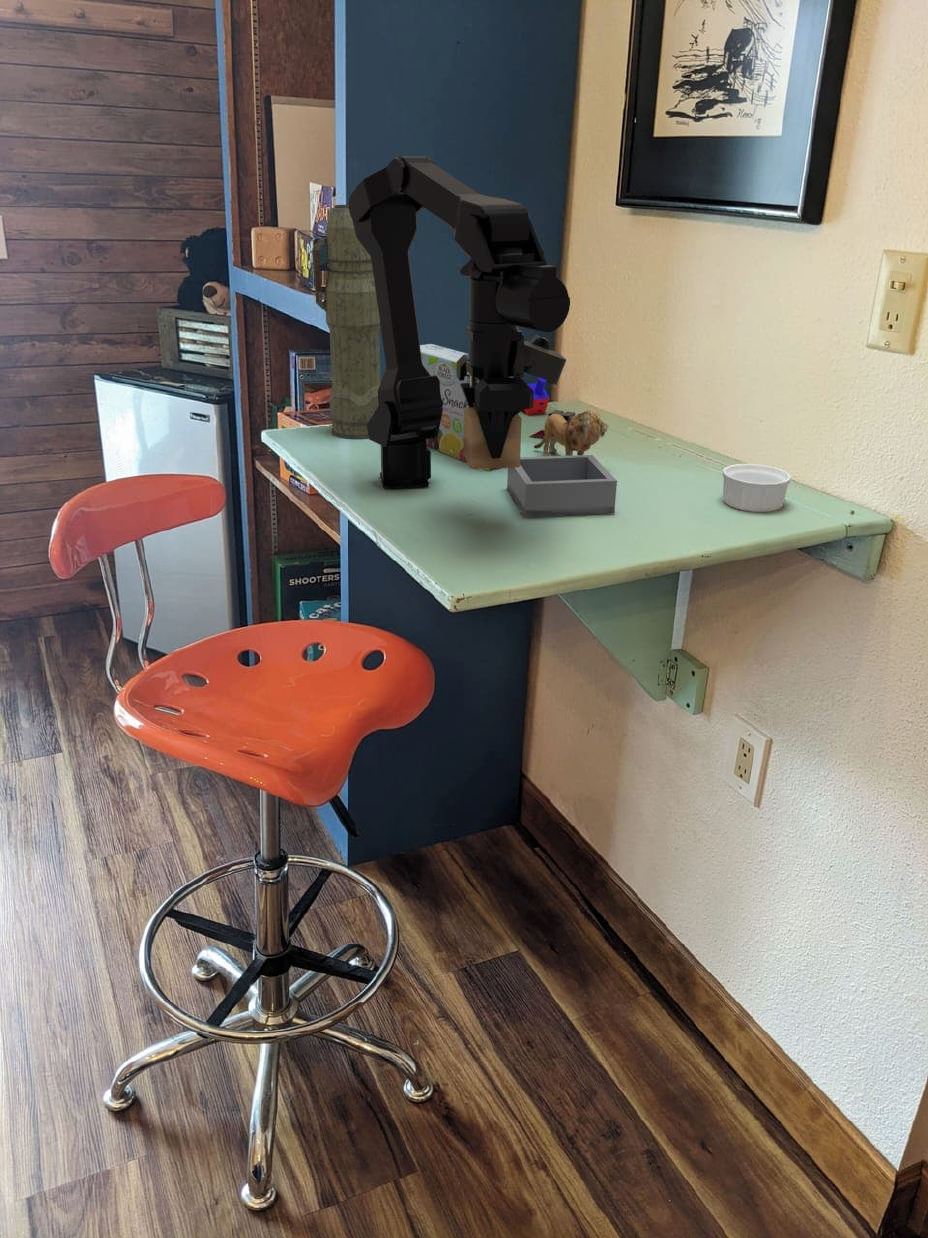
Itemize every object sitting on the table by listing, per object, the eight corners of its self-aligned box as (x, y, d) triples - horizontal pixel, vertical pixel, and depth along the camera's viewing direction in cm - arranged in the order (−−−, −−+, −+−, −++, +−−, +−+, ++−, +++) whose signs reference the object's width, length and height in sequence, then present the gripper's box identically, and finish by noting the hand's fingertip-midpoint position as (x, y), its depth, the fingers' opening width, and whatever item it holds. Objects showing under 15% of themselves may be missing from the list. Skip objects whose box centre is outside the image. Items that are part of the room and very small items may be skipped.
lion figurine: (610, 471, 149) (614, 410, 145) (583, 477, 146) (587, 416, 142) (546, 448, 160) (548, 391, 156) (520, 453, 157) (521, 396, 153)
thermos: (318, 427, 170) (306, 203, 155) (387, 423, 173) (381, 203, 158) (326, 441, 162) (314, 207, 147) (397, 436, 165) (393, 206, 150)
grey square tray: (524, 517, 130) (526, 484, 128) (507, 488, 141) (508, 457, 139) (614, 513, 132) (616, 480, 130) (590, 485, 143) (592, 454, 141)
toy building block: (524, 422, 181) (535, 387, 174) (516, 407, 183) (526, 371, 177) (542, 420, 182) (553, 385, 176) (533, 405, 184) (544, 370, 178)
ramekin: (786, 497, 139) (791, 466, 137) (786, 517, 132) (791, 485, 130) (721, 490, 141) (724, 460, 140) (716, 510, 134) (720, 479, 132)
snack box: (405, 440, 163) (404, 346, 157) (433, 435, 166) (433, 342, 160) (487, 472, 148) (489, 369, 142) (516, 465, 151) (519, 364, 145)
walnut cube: (471, 468, 121) (471, 419, 118) (463, 455, 126) (463, 407, 124) (519, 467, 122) (521, 418, 119) (510, 453, 127) (511, 406, 125)
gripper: (581, 332, 110) (574, 470, 116) (543, 307, 126) (539, 429, 133) (481, 334, 108) (479, 474, 115) (456, 308, 125) (455, 432, 131)
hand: (491, 450), depth 123 cm, fingers closed on walnut cube, 6 cm apart
